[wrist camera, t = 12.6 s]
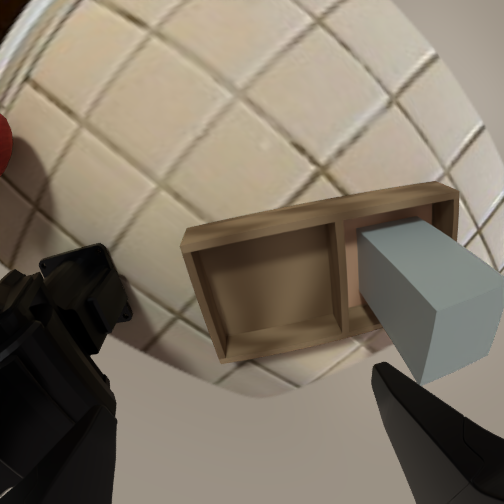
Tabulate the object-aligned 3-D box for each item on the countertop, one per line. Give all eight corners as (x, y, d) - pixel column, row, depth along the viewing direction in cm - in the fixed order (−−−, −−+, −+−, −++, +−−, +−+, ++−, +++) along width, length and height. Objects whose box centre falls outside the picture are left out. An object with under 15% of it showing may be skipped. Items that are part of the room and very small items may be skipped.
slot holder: (221, 338, 24) (220, 364, 21) (187, 228, 20) (179, 245, 17) (430, 287, 23) (448, 305, 20) (435, 181, 19) (459, 191, 17)
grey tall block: (358, 290, 22) (419, 386, 13) (356, 228, 20) (436, 311, 11) (414, 275, 22) (487, 355, 13) (416, 215, 20) (510, 281, 11)
